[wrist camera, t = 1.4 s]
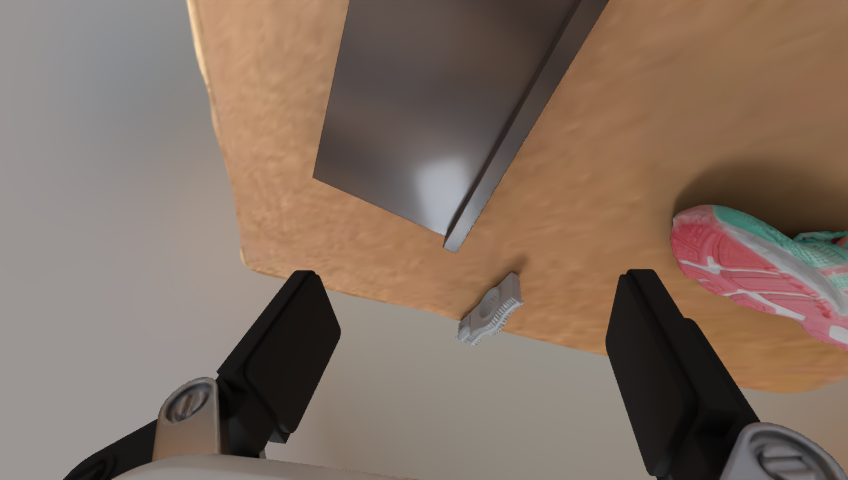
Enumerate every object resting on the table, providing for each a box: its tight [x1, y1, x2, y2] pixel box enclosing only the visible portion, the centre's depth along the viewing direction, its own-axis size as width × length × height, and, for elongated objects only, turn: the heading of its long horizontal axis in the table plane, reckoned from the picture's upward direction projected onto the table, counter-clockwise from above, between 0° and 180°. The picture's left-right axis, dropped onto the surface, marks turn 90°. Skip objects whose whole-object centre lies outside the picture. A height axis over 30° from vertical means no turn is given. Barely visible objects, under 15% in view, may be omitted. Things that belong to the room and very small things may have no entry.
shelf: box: [313, 0, 609, 253], centre depth 28 cm, size 24×16×6 cm, turn 158°
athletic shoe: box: [670, 205, 848, 351], centre depth 30 cm, size 27×9×12 cm
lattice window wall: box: [456, 272, 524, 345], centre depth 41 cm, size 12×2×6 cm, turn 151°
